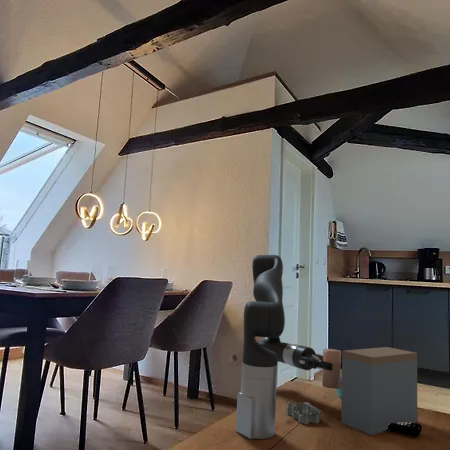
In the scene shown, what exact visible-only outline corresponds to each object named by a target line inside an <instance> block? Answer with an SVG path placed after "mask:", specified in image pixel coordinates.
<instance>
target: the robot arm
mask: <svg viewBox="0 0 450 450" xmlns="http://www.w3.org/2000/svg"><path fill="white" fill-rule="evenodd" d="M283 271H284V264H283V260H282V258H281V256H279V255H277V254H256V255H254V257H253V258H252V276H253V277H252V278H253V288H252V289H253V292H252V294H253V298H254V301H253V300H250V301H247V302H246V303H245V306H244V309H243V346H242V347H243V348H242V362H241V363H242V364H241V365H242V367H241V380H240V381H241V382H240V391H238V393H237V397H236V398H237V399H236V402H237V403H236V419H235V432H237V433H239V434H240V435H242V436H244V437H246V438H248V439H249V440H252V439H257V440H263V439H264V440H265V439H270V438H273V437H274V436H275V434H276V433H275V429H276V427H275V426H276V409H277V408H276V407H277V383H278V381H277V380H278V378H277V377H278V363H282V364H286V365H289V366H291V367H293V368H294V367H295V368H297V369H301V370H304V371H311V370H312V369H314V370H316V369H319V370H323V369H326V370H329V371H331V370H332V366H333V365H332V363H329V362H325V361H323V354H320V353H316V351H315V349H314V348H313V347H310V346H304V345H300V344H296V343H294V344H293V343H288V342H283V341H281V338H280V337H281V335H282V334H283V332H284V330H285V324H286V323H285V321H286V320H285V319H286V318H285V317H286V315H285V309H284V303H283V295H284V294H283V293H284V290H283V289H284V288H283V287H284V285H283ZM256 338H265V339H263V340H259V341H257V339H256ZM341 369H342V360H341Z"/></svg>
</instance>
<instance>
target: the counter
mask: <svg viewBox="0 0 450 450" xmlns="http://www.w3.org/2000/svg"><path fill="white" fill-rule="evenodd" d="M341 361H342V398H341V404H340V406H341V408H340V409H341V413H340V414H341V416H340V417H341V418H340V423H341V424H343V425H345V426H348V427H351V428H353V429H356V430H357V431H361V432H363V433H365V434H368V435H370V436H374V435H377V434H381V433H384V432H383V431H385V430H387V429H388V426H389V425H390V424H391V423H394V422H412V423H414V424H416V423H418V352H415V351H409V350H405V349H399V348H393V347H390V346H389V347H388V346H383V347H372V348H371V347H369V348H360V349H346V350H342V353H341ZM385 432H386V431H385Z"/></svg>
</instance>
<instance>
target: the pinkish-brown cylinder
mask: <svg viewBox="0 0 450 450" xmlns="http://www.w3.org/2000/svg"><path fill="white" fill-rule="evenodd" d="M322 350H323V351H322V356H323V361H325V362H329V363H332V365H333V366H332V370H331V371H329V370H326V369H322V380H321V381H322V382H321V384H322V385H321V386H322V387H323V388H327V389H331V390H332V389H333V390H336V389H339V388H340V383H341V361H342V350H339V349H335V348H323V349H322Z"/></svg>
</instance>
